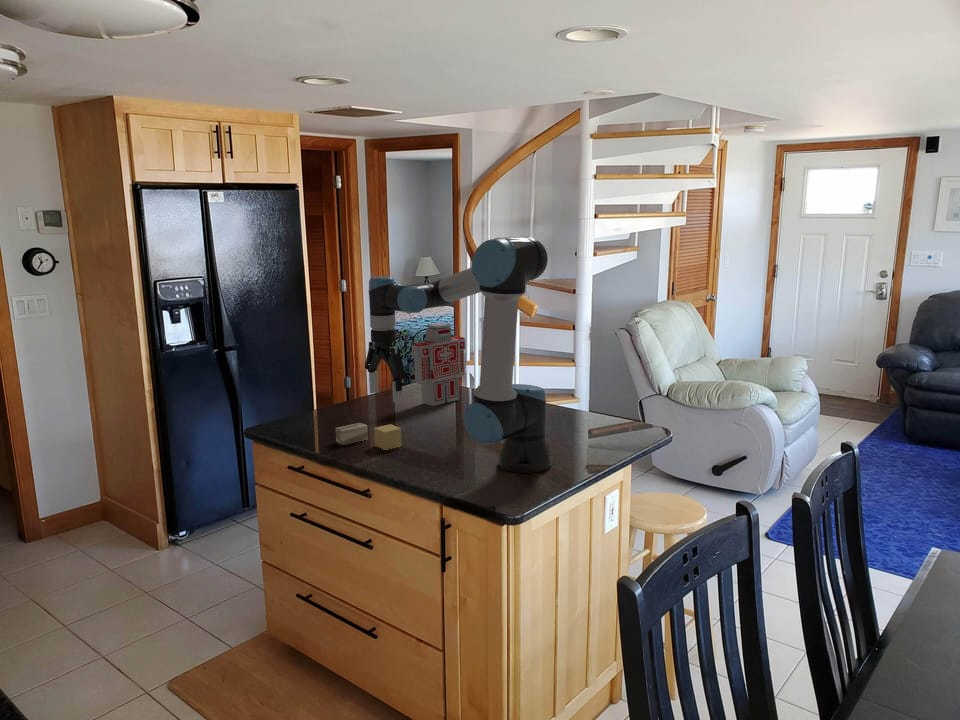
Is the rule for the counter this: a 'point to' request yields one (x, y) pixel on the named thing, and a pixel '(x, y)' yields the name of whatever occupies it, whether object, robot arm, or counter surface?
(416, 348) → the toy
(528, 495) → the counter surface
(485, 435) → the robot arm
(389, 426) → the ochre cube
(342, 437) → the birch plinth
